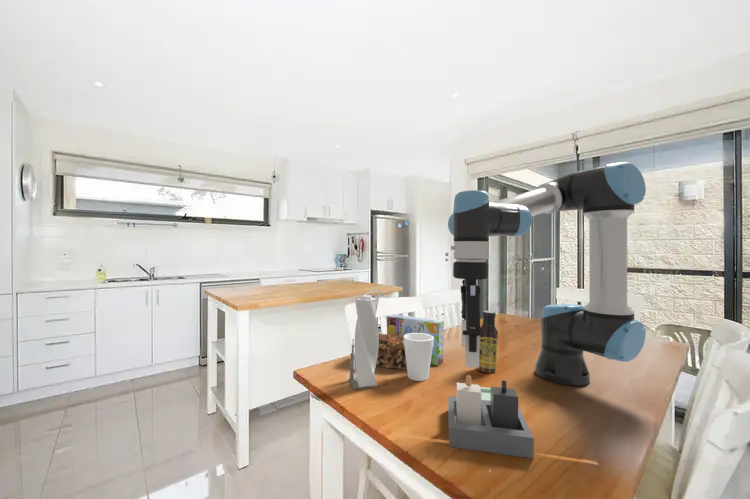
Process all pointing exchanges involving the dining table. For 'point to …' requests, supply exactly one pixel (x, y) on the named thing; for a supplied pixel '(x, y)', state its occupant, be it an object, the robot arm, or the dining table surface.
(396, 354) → the bread
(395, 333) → the snack box
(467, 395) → the white block with knob
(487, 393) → the tray
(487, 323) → the sauce bottle
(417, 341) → the foam cup
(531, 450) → the grey desk organizer
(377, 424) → the dining table surface
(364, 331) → the skyscraper
